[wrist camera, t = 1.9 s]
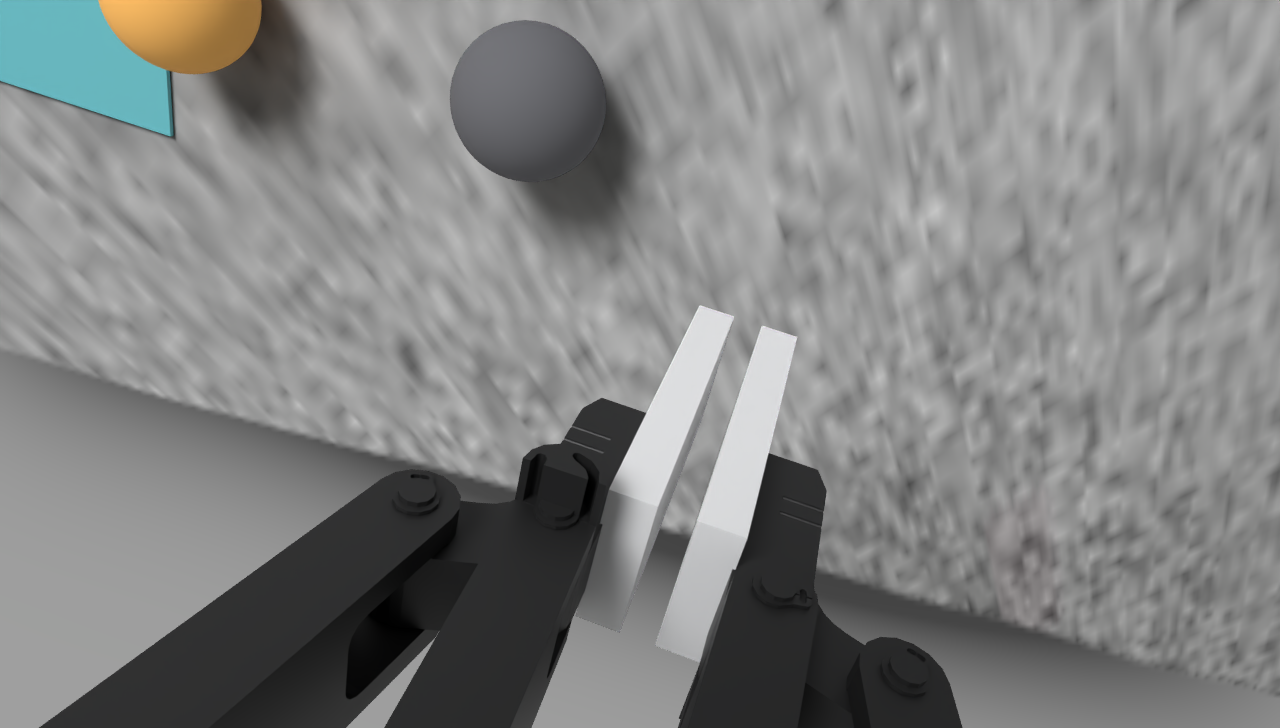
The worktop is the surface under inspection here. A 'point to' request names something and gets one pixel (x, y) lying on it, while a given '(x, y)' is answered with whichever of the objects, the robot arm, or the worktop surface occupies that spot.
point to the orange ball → (185, 31)
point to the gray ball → (527, 101)
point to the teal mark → (81, 62)
